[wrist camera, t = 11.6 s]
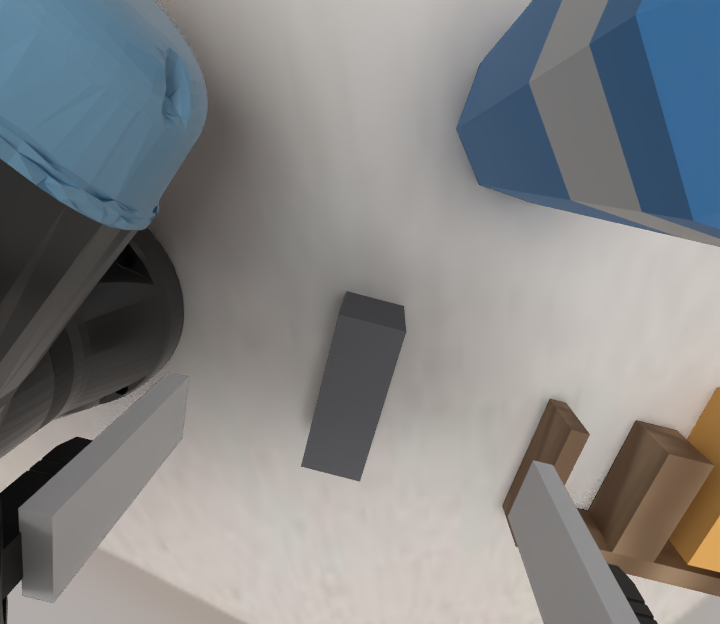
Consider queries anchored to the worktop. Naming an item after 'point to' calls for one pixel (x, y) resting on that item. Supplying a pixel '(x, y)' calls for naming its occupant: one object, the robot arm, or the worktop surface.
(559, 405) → the bronze desk organizer
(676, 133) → the blue water bottle
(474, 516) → the worktop surface
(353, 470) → the tall gray prism
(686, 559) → the tall orange brick
